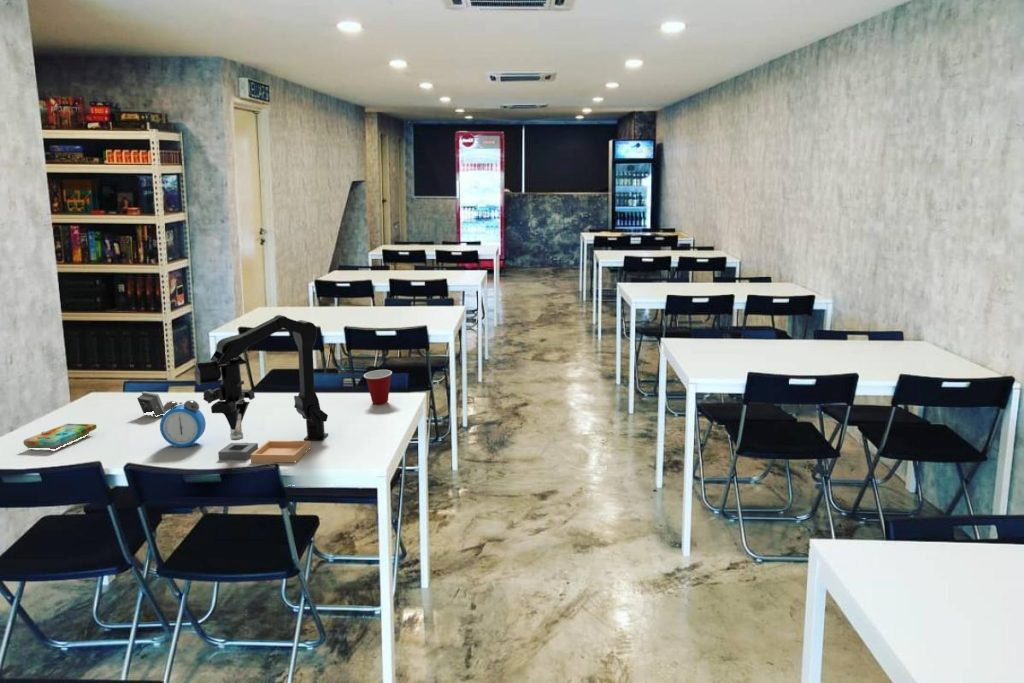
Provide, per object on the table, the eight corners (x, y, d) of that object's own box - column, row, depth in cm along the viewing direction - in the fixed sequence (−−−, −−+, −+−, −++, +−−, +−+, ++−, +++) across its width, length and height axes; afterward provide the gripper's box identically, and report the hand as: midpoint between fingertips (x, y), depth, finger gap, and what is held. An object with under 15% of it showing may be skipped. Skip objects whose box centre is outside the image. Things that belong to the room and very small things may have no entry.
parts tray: (268, 448, 268) (268, 440, 268) (310, 448, 266) (310, 440, 266) (251, 462, 254) (250, 454, 254) (295, 462, 253) (294, 455, 252)
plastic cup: (359, 404, 319) (357, 373, 317) (381, 398, 327) (379, 368, 324) (377, 408, 312) (375, 377, 309) (399, 402, 320) (397, 371, 317)
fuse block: (231, 450, 267) (230, 442, 266) (258, 450, 266) (257, 443, 265) (218, 459, 258) (218, 452, 258) (246, 459, 257) (245, 452, 257)
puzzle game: (22, 438, 272) (66, 421, 291) (24, 452, 273) (68, 433, 292) (53, 439, 269) (95, 422, 289) (55, 453, 270) (97, 435, 290)
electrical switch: (167, 415, 310) (162, 392, 308) (155, 420, 306) (150, 397, 304) (152, 412, 315) (147, 389, 313) (139, 417, 311) (134, 394, 309)
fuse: (233, 436, 263) (231, 412, 261) (245, 436, 262) (243, 412, 261) (228, 440, 259) (226, 415, 258) (240, 440, 259) (237, 415, 257)
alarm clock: (161, 448, 271) (156, 404, 268) (168, 442, 277) (163, 399, 274) (202, 446, 271) (197, 402, 269) (208, 441, 278) (203, 397, 275)
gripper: (220, 372, 267) (224, 419, 270) (192, 386, 249) (197, 436, 252) (253, 372, 266) (257, 419, 269) (227, 386, 248) (232, 436, 251)
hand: (236, 427), depth 260 cm, fingers closed on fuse, 3 cm apart
